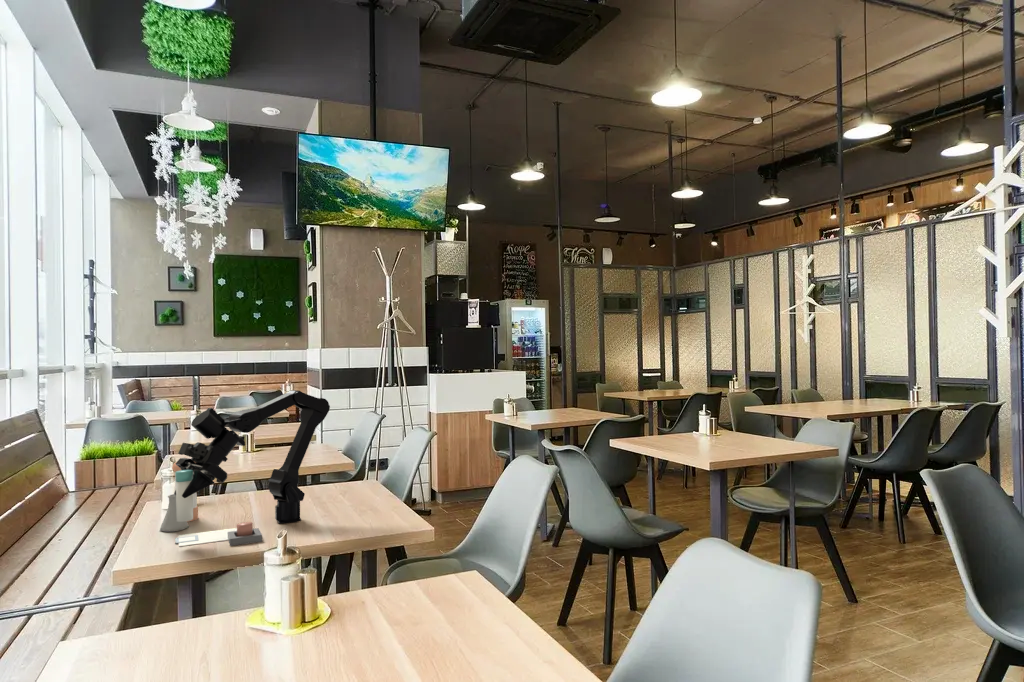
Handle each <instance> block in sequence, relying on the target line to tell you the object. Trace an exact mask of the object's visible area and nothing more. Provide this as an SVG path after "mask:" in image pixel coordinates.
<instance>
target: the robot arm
mask: <svg viewBox="0 0 1024 682" xmlns="http://www.w3.org/2000/svg"><path fill="white" fill-rule="evenodd" d="M293 406H295V407H296V408H298V409H300V410H301V411H300V424H299V426H298V429H297V431H296V434H295V436H294V438H293V441H292V442H291V445H290V448H289V450H288V453H287V455H286V458H285V459H284V463H283V464H282V465H281V467H280V468H278V469H277V468H273V470H272V473H271V476H270V478H269V479H268V480H267V482H269V483H268V488H267V489H268V490H269V493H270V494H271V495H272V496H273V499H274V501H276V505H275V506H274V510H275V511H274V514H275V516H274V517H275V520H276V521H277V523H278V524H287V523H288V524H289V523H294V522H295V523H297V522H301V521H302V518H301V502H303V501H304V498H305V494H306V493H304V492H303V491H302V489H300V488H299V487H298V486H299V482H300V477H299V476H300V474H299V470H300V467H301V465H302V463H303V461H304V457H305V455H306V453H307V450H308V448H309V446H310V444H311V441H312V439H313V437H314V436H313V435H314V434H315V432H316V429H317V427H318V426H319V425H320V424H321V423H322V422H323V421H324V420H325V419H326V417H327V416H328V413H329V412H330V409H331V406H330V404H329V401H328V400H327V399H326V398H323V397H316V396H312V395H310V394H306V393H305V392H303V391H301V390H293V389H292V390H289V391H288V392H286V393H283V394H281V395H279V396H277V397H275V398H273V399H271V400H269V401H267V402H264V403H262V404H260V405H258V406H255V407H251V408H247V409H242V410H239V411H234V412H231V414H230V415H229V416H227V417H224V418H223V417H222V416H220V414H218V412H217V411H216V410H215V409H214V408H212V407H208V408H207V409H206V410H205V411H202V412H200V413H199V414H198V415H196V416H195V417H194V418H193V419H192V421H191V426H192V427H193V428H194V429H195V430H196V431H197V432H198V433H199V434H201V435H202V436H203V437H204V438H205V439H207V440H208V439H212V440H211V442H210V443H209V444H205V443H202V442H198V441H197V442H196V443H195V444H192V443H189V442H182V443H181V446H180V447H179V450H178V453H177V454H179V455H181V456H183V455H184V456H185V457H186V456H187V457H186V458H185V457H180V458H179V459H178V460H177V461H176V465H177V466H178V467H179V468H180V469H181V470H193V479H192V481H191V482H190V484H189V485H188V487H187V488H186V490H185V491H184V493H183V494H182V497H183V498H187V497H188V496H190V495H192V494H194V493H197V492H199V491H202V490H203V489H205V488H207V487H209V486H212V485H215V481H214V480H215V479H216V482H217V483H218V484H224V482H225V481H226V480H227V479H228V472H227V471H225V470H224V469H223V468H222V467H221V466H220V465H221V463H222V462H224V463H225V462H227V461H228V460H229V458H227V457H228V455H229V454H230V453H231V451H232V450H233V449H234V448H235V447H236V446H239V447H240V446H241V447H245V446H246V441H245V437H246V436H244V435H239V434H237V433H246V434H247V433H250V432H252V431H254V430H255V429H256V428H258V427H259V426H260V425H261V424H262V423H263V422H264V421H265V420H266V419H268V418H270V417H272V416H275V415H277V414H279V413H280V412H282V411H285V410H287V409H289V408H290V407H293ZM227 428H229V429H230V430H229V429H227ZM188 457H189V458H188ZM173 494H175V495H176V491H175V493H174V492H173Z"/></svg>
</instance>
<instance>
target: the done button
mask: <svg viewBox="0 0 1024 682" xmlns="http://www.w3.org/2000/svg"><path fill="white" fill-rule="evenodd" d="M236 528H237V536H238V537H239V536H246V535H252V534H253V529H254V528H253V522H252V521H244V522H243V521H242V522H240V523H236Z"/></svg>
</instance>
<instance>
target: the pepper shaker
mask: <svg viewBox="0 0 1024 682" xmlns="http://www.w3.org/2000/svg"><path fill="white" fill-rule="evenodd" d="M184 458H187V457H186V456H185V457H184ZM176 462H177V461H176ZM176 462H174V463H173V464H172V467H171V468H172V471H173V472H174V490H173V494H174V493H175V491H176V474H175V472H176V471H181V469H180V468H179V467H178V466H177V465H176ZM197 503H198V494H197V492H196V493H194V494H193V520H190V521H187V523H189V522H193V521H197V520H198V519H199V506H198V505H197Z"/></svg>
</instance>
